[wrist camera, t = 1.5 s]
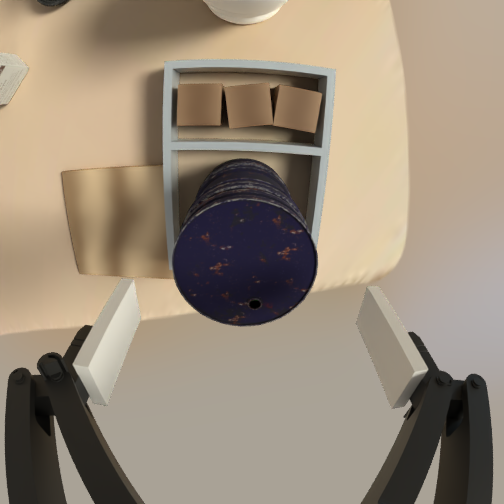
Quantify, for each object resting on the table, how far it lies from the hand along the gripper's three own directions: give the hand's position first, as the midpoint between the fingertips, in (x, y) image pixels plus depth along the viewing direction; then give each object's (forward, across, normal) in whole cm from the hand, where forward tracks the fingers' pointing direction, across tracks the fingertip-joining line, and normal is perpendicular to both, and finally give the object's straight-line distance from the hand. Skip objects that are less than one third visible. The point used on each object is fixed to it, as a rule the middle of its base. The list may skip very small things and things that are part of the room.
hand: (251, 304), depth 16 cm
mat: (+18, -16, -3) cm, 24 cm away
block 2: (+19, 0, +10) cm, 21 cm away
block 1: (+19, -5, +11) cm, 22 cm away
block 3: (+19, +4, +11) cm, 22 cm away
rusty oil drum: (+19, 0, 0) cm, 19 cm away
